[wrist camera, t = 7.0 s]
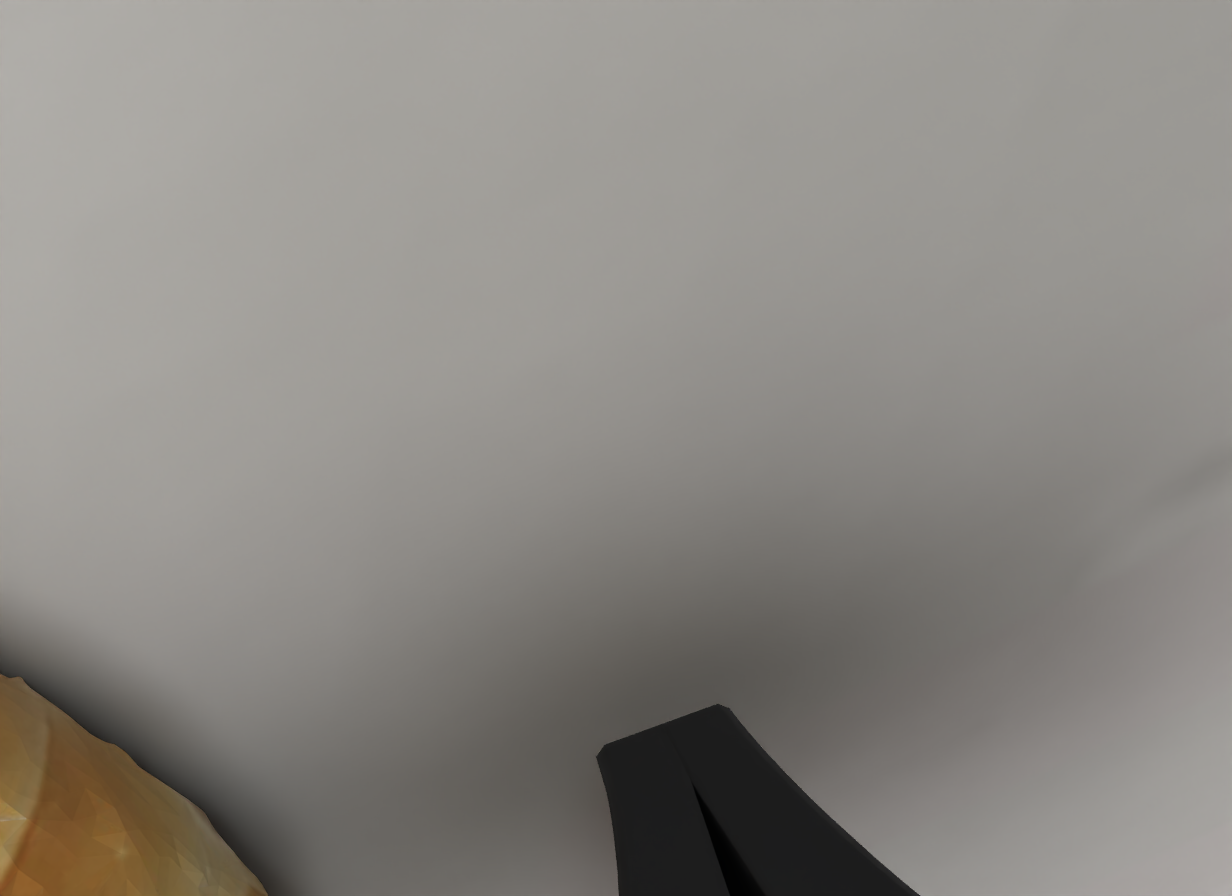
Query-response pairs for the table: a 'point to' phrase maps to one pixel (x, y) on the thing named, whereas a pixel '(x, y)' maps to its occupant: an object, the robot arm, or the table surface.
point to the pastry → (97, 816)
